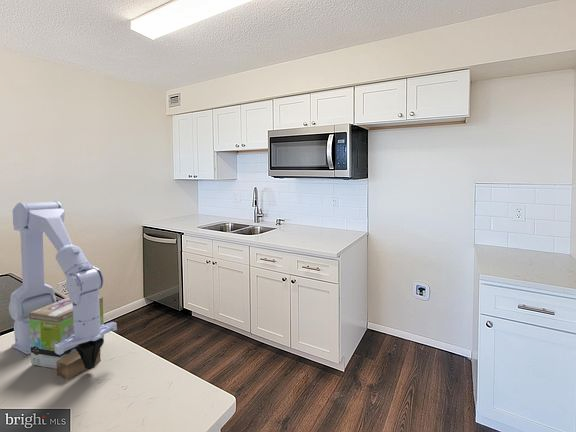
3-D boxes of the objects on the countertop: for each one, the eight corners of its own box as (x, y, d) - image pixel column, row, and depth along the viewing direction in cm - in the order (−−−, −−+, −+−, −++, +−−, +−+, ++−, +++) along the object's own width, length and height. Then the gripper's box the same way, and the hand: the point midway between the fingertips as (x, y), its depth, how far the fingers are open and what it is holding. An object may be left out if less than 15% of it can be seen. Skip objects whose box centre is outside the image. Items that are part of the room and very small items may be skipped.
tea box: (62, 370, 84) (58, 316, 82) (30, 365, 86) (26, 312, 84) (105, 342, 98) (103, 295, 97) (77, 338, 100) (75, 292, 99)
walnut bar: (57, 376, 81) (56, 361, 81) (90, 358, 90) (89, 344, 89) (68, 380, 80) (67, 364, 80) (100, 361, 88) (99, 347, 88)
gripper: (65, 332, 73) (68, 388, 75) (123, 309, 86) (125, 357, 87) (48, 325, 76) (51, 379, 78) (106, 304, 89) (108, 351, 91)
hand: (89, 367), depth 83 cm, fingers closed
